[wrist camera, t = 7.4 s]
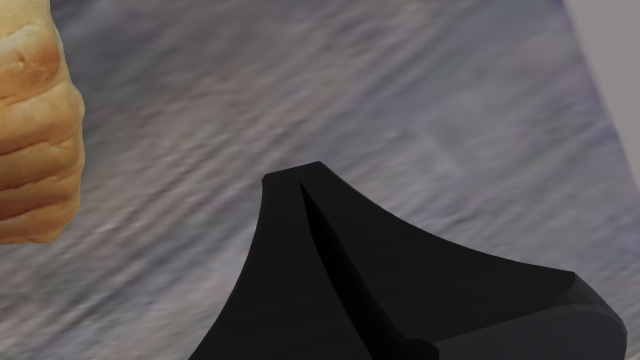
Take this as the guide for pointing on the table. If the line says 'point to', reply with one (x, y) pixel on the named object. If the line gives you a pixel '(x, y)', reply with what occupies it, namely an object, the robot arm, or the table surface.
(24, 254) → the table surface
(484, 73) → the table surface
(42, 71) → the pastry
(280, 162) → the table surface
